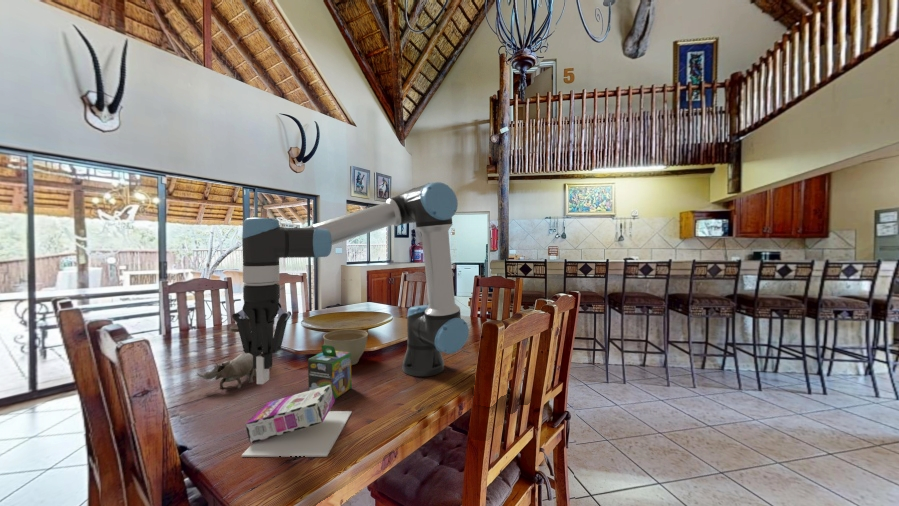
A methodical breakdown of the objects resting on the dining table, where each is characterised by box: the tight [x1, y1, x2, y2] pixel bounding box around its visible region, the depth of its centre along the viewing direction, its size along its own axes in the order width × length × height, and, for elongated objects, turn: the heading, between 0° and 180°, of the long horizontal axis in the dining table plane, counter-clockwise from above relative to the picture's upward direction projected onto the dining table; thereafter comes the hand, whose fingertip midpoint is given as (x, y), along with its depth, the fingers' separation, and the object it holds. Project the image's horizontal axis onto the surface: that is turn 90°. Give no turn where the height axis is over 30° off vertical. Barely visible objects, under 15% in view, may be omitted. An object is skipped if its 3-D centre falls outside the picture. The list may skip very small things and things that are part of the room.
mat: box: [241, 410, 353, 458], centre depth 77 cm, size 18×18×1 cm
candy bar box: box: [244, 385, 336, 444], centre depth 78 cm, size 11×5×16 cm
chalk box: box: [307, 344, 353, 400], centre depth 98 cm, size 9×9×15 cm
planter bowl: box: [322, 328, 369, 366], centre depth 123 cm, size 16×16×11 cm
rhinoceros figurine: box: [196, 352, 257, 389], centre depth 104 cm, size 8×14×15 cm
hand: (263, 381), depth 77 cm, fingers closed
